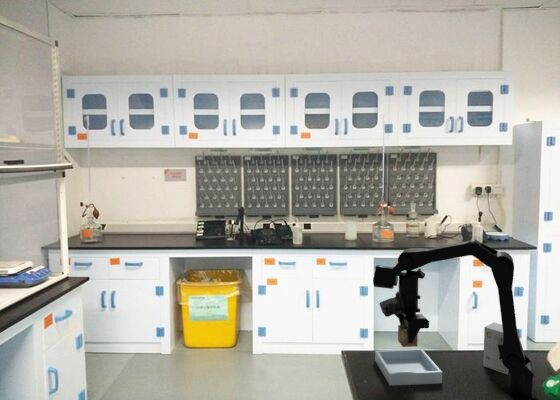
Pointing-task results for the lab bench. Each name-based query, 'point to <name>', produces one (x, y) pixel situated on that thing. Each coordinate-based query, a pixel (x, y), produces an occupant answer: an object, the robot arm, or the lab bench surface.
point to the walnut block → (405, 337)
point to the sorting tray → (407, 367)
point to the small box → (493, 347)
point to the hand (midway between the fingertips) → (407, 339)
